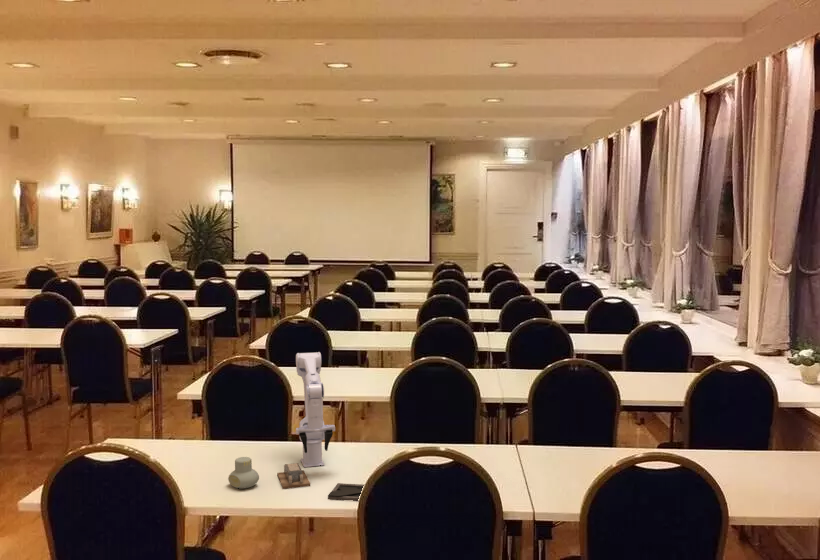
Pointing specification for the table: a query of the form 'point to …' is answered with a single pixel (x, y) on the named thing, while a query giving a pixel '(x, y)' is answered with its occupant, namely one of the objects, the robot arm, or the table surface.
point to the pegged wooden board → (285, 485)
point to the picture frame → (346, 492)
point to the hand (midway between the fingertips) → (315, 451)
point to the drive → (293, 472)
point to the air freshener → (243, 474)
